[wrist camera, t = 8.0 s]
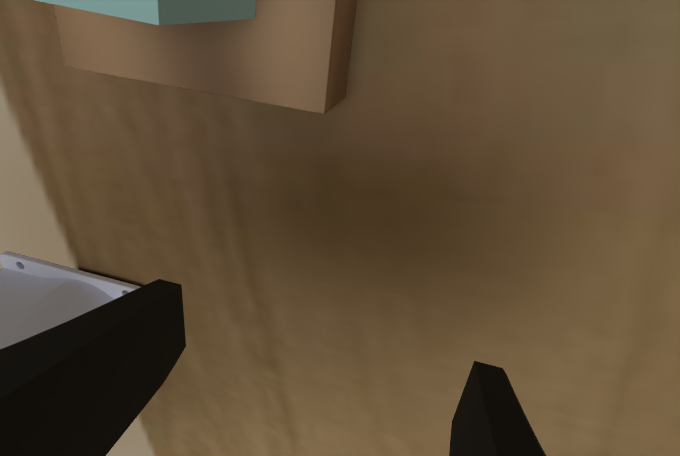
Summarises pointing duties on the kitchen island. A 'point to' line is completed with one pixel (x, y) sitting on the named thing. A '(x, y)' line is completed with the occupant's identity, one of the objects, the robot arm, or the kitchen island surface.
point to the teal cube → (167, 9)
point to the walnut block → (225, 51)
